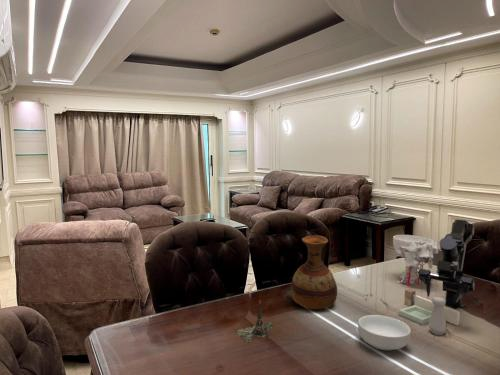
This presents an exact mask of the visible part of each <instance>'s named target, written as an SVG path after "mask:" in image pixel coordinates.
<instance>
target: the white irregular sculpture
mask: <svg viewBox="0 0 500 375" xmlns="http://www.w3.org/2000/svg"><path fill="white" fill-rule="evenodd" d="M392 243H393V248H394V250H395V252H396V253H397V255H398V257H399V258H402V259H403V261H404V262H405V267H404V268H405V269H404V271H402V274H401V275H400V280H397V282H396V283H397V284H405V286H408V287H410V285H414V284H415V283H416V284H417V286H420V279H419V275H418V272H419V270H420V269H424V265H426V264H427V266H428V268H429V269H433V266H434V265H433V259H434V254H436V255H437V254H439V248H438V245H439V244H438V242H435V241H434V240H433V239H432V238H428V237H424V236H421V235H420V236H419V235H411V234H396V235H394V236H393V238H392ZM424 258H425V259H426V261H425V259H424ZM423 263H424V264H423Z"/></svg>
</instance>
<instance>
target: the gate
mask: <svg viewBox="0 0 500 375" xmlns="http://www.w3.org/2000/svg"><path fill="white" fill-rule="evenodd" d="M414 305H416V306H418V307H421V308H424V309H426V310H429V311H431V312H432V311H433V307H434V304H433V303H432V299H431V300H430V299H428V298H425V297H423V296H420V295H417V294H416V295H415V294H413V299H412V306H414ZM444 313H445V320H446V323H447V322H448V323H450V324H452V325H454V326H459V325H460V316H461V314H460V313H461V312H460V311H458V310H457V309H454V308H452V307H449V306H447V305H445V306H444Z"/></svg>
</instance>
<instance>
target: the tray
mask: <svg viewBox="0 0 500 375" xmlns="http://www.w3.org/2000/svg"><path fill="white" fill-rule="evenodd" d="M431 314H432V312H431V311H429V310H426V309H424V308H421V307H418V306H416V305H414V306H410V307H409V306H407V307H405V308H402V309H399V310H398V317H402V318H404V319H406V320H409V321H412V322H413V323H416V324H418V325H421V326H424V325H429V321H430V318H431Z"/></svg>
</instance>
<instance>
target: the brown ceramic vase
mask: <svg viewBox="0 0 500 375" xmlns="http://www.w3.org/2000/svg"><path fill="white" fill-rule="evenodd" d="M301 241H302V242H303V243H304V245H305V246H306V247H307V260H306V261H305V263H302V265H300V266H299V267H298V268H297V270H296V271H295V273H294V274H293V277H292V279H291V283H290V284H291V285H290V295H291V298H292V300H293V301H294V302H295V303H296V304H297V305H300V306H301V307H303V308H306V309H311V310H321V309H327V308H330V307H331V306H333V305H334V303H336V301H337V297H338V286H337V282H336V280H335V278H334V274H333V273H332V272H331V270H330V268H329V267H328V266H327V265H325V258H326V257H325V256H326V253H327V252H326V249H327V243H328V242H329V239H328V238H327V237H326V236H322V235H316V234H315V235H307V236H305V237H302V238H301Z"/></svg>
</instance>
